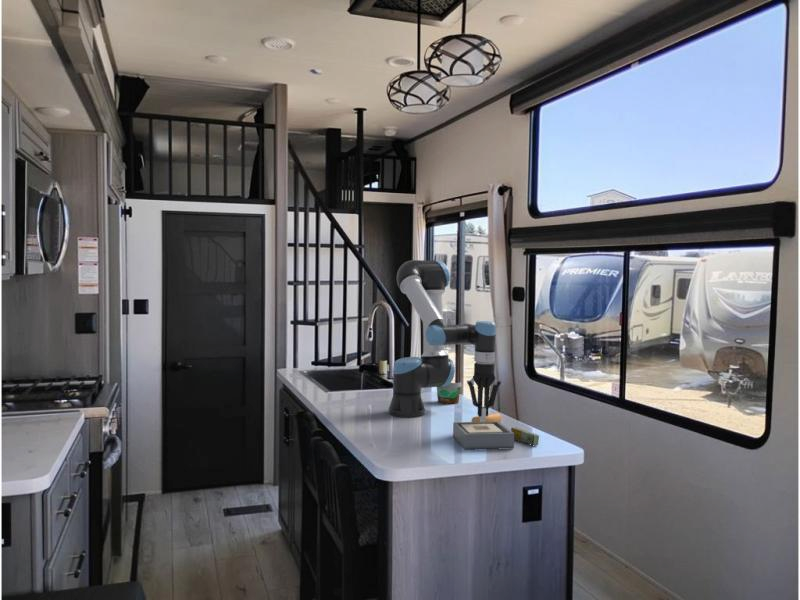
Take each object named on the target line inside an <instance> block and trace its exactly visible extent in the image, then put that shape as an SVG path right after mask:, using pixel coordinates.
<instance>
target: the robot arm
mask: <svg viewBox="0 0 800 600" xmlns="http://www.w3.org/2000/svg"><path fill="white" fill-rule="evenodd" d="M450 281H451V274H450V269H449V267H448V266H447V264H445V263H444V262H443V261H441V260H429V259H427V260H426V259H425V260H417V259H411V260H408V261H405V262H404V263H403V264H401V266H400V267H399V268H398V270H397V273H396V284H397V286H398V288H399V290H400V291H401V293H402V294H404V295H406V297H407V298H408V301H410V303H411V305H412V306H413V307H412V308H414V310H415V311H416V313H417V315H418V316H419V318H420V319H421V321H422V325H423V347H424V349H423V353H422V354H421V355H420V356H421V357H420V356H408V357H407V356H406V357H402V358H399V359H397V360H395V361H394V362H393V368H392V369H393V370H392V375H393V376H392V397H391V401H390V403H389V405H388V415H389V416H392V417H396V418H405V419H406V418H407V419H410V418H411V419H412V418H420V417H423V416H425V413H426V412H425V411H426V409H425V405H424V403H423V399H422V389H425V388H426V389H427V388H428V389H429V388H437V387H442V386H447V385H449V384H450V383H452V381H453V379H454V377H455V372H456V370H455V367H456V366H455V364H454V362H453V360H452V359H451V358H449V354H448V353H447V351H446V349H445V346H448V345H449V346H450V345H452V346H453V345H473V346H474V359H473V360H474V362H475V363H474V365H473V367H474V368H473V376H472V378H471V379H470V380H466V384H467V386H468V387H469V392H470V396H471V397H470V398H471V401H472V405H473V406H474V407H477V417H478V416H480V422H486V416H488V415H489V409H490V407H491V408H492V407H493V406H494V404H495V401H496V397H497V394H498V389H499V387H500V385H501V383H502V382H501V381H500V380H498V379H496V376H495V361H496V360H495V358H496V357H495V356H496V355H495V354H496V352H495V351H496V350H495V349H496V335H497V331H496V323H495V322H493V321H488V320H487V321H486V320H478V321H476V322H475V324H472V323H461V324H447V322H446V320H445V319H444V313H443V298H442V297H443V295H444V293H445V292H446V288H447V287H448V286H449V284H450ZM475 385H476V386H477V395H476V391H475V390H476V389H475ZM491 386H492V389H491ZM490 390H491V393H490ZM483 393H484V394H483ZM483 397H484V398H483Z"/></svg>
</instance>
